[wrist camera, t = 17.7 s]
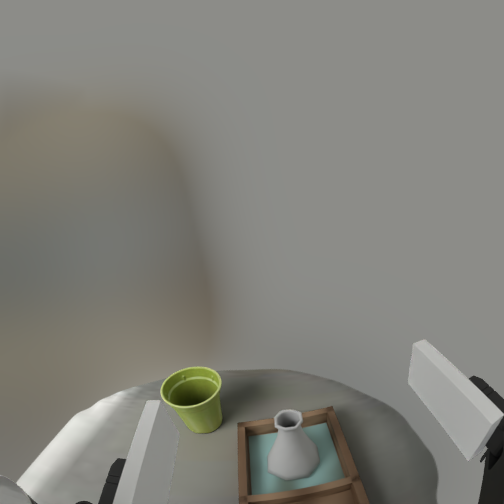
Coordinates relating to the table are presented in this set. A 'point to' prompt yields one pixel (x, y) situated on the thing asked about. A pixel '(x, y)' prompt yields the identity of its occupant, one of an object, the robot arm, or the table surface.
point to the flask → (292, 448)
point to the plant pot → (195, 397)
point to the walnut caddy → (307, 489)
